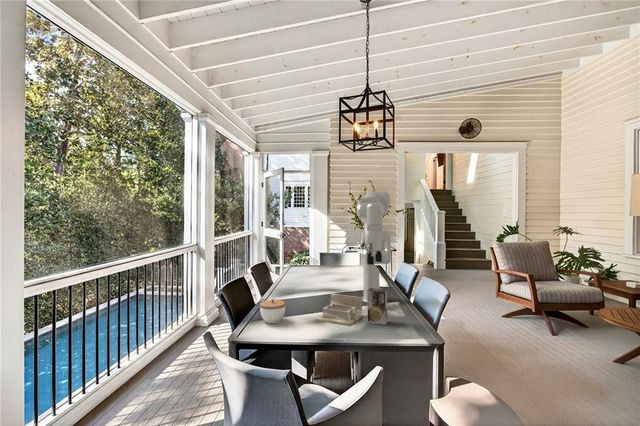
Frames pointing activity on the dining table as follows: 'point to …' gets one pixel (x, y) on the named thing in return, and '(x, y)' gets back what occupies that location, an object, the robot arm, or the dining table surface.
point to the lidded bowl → (272, 310)
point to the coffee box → (377, 306)
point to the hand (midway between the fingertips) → (374, 263)
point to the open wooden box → (342, 310)
